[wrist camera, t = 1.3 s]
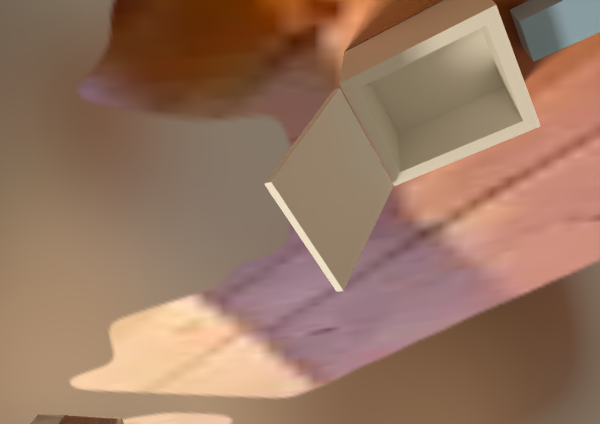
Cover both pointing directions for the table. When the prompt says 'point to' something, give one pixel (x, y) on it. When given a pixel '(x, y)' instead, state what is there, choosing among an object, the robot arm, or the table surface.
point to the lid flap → (332, 188)
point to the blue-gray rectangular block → (554, 24)
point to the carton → (437, 88)
